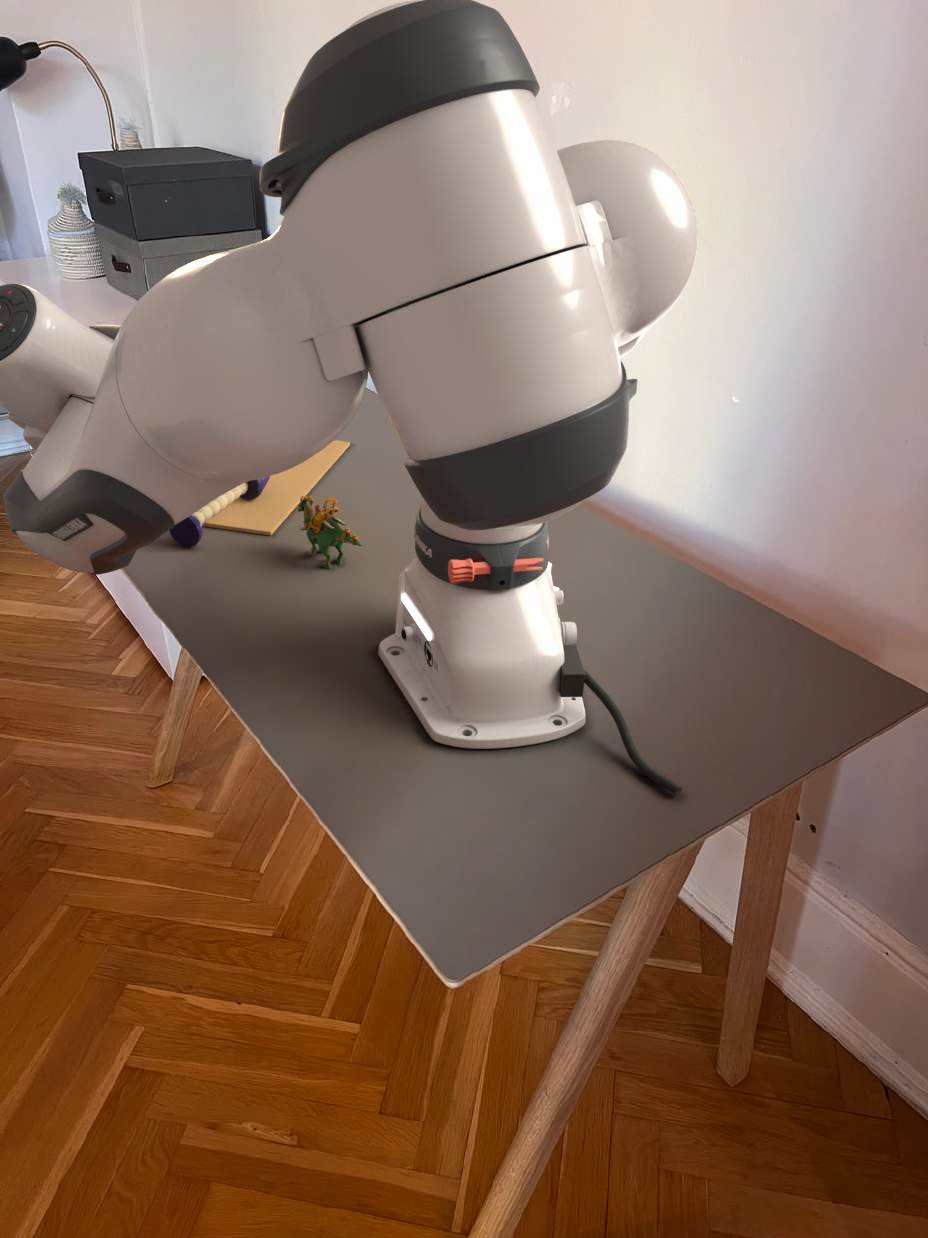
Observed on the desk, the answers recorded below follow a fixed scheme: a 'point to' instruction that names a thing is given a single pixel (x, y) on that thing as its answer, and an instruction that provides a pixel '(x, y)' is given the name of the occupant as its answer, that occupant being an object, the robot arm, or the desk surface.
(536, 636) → the robot arm
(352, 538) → the figurine
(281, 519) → the wooden board
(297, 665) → the desk surface
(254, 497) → the toy lamp
